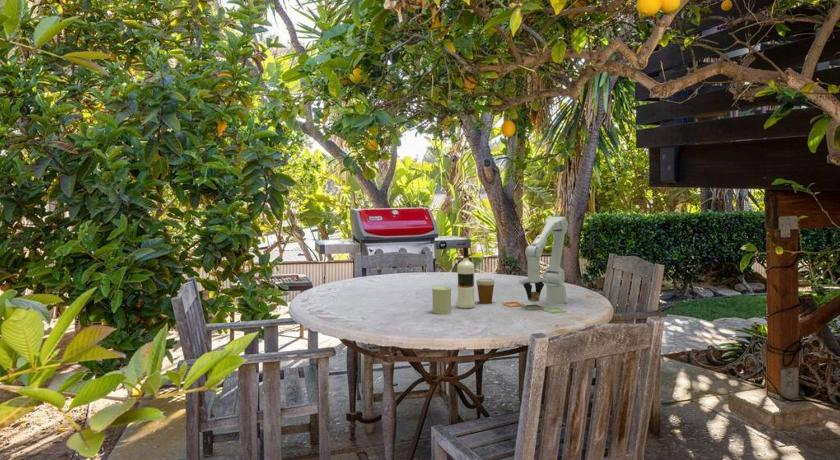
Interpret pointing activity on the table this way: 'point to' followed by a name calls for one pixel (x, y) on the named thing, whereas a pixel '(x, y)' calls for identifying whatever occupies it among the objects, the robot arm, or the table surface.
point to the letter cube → (534, 297)
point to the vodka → (465, 282)
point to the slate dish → (533, 307)
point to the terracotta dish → (512, 304)
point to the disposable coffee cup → (485, 290)
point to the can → (441, 300)
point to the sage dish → (554, 310)
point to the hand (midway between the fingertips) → (533, 297)
